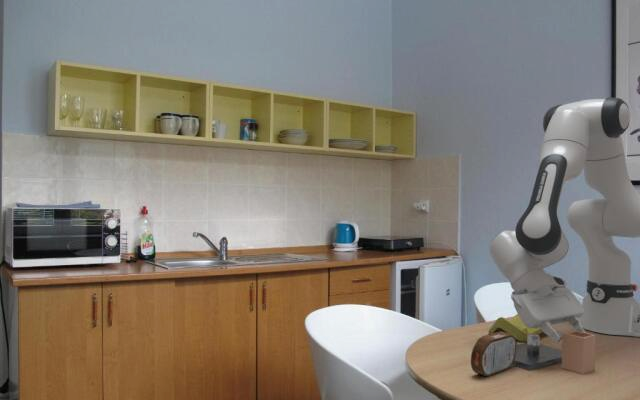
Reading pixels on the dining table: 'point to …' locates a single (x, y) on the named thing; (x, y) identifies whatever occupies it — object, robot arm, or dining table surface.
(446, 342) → the dining table surface
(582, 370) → the sleeve
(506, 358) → the tin
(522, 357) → the base
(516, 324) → the plastic component
